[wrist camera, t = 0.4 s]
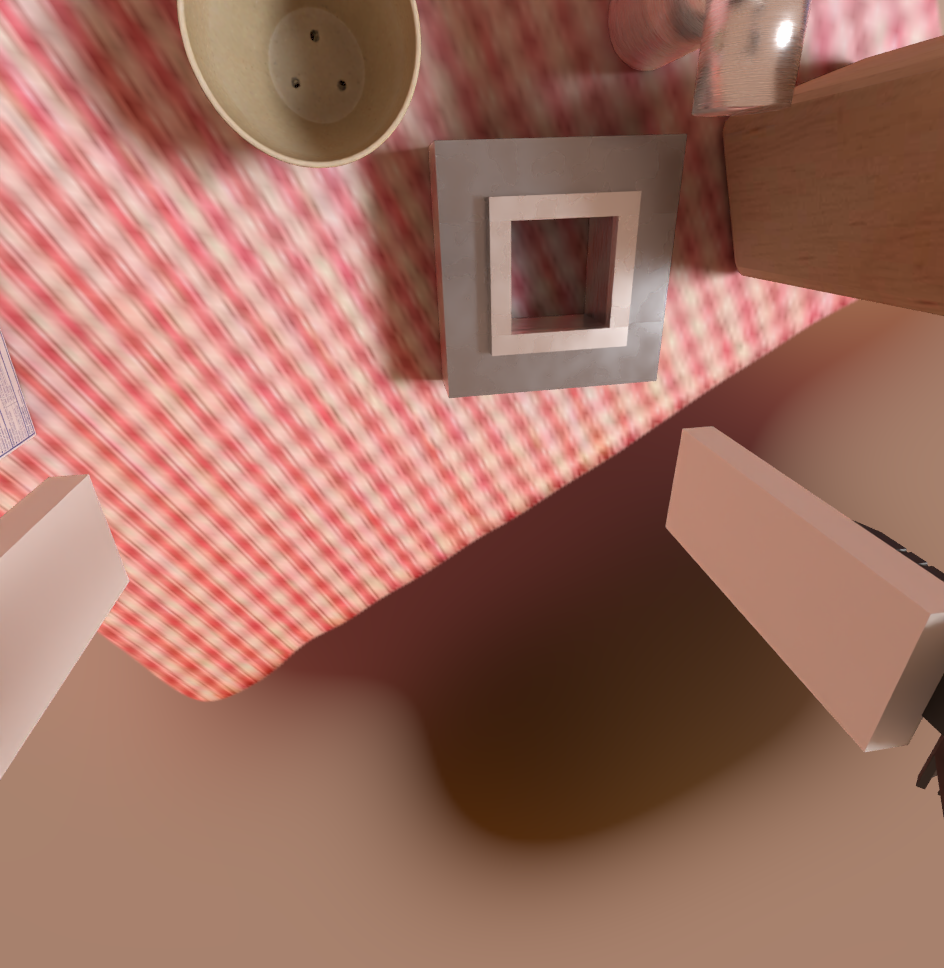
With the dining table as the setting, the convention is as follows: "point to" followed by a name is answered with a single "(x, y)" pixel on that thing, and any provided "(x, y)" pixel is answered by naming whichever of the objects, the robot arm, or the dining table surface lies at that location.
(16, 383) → the medicine box
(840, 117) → the block
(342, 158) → the flower pot
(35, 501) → the robot arm
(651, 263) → the duct socket
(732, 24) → the elbow
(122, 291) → the dining table surface
